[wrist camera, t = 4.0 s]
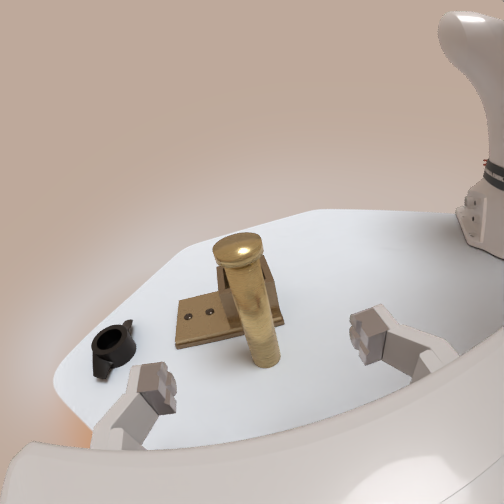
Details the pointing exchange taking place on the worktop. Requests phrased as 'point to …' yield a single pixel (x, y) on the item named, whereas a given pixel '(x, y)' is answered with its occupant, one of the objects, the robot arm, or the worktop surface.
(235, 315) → the brass socket plate
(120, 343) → the black ring with tabs
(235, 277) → the hinge pin
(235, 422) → the worktop surface
